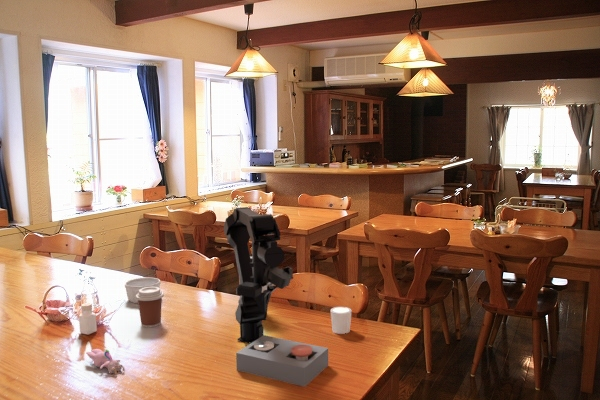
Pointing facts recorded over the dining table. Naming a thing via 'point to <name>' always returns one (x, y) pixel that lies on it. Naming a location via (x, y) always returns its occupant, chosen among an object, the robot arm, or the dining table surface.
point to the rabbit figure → (105, 360)
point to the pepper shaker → (87, 319)
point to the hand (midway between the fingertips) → (263, 311)
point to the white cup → (341, 319)
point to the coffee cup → (150, 306)
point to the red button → (301, 352)
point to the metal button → (264, 346)
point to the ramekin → (139, 286)
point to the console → (282, 361)
